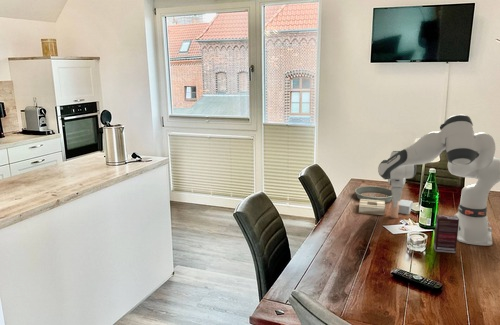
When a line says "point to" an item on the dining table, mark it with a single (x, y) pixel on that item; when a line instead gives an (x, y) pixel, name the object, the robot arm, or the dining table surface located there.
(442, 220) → the supplement box
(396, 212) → the peg
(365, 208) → the socket board
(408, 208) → the grey rectangular block
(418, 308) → the dining table surface
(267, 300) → the dining table surface
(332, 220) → the dining table surface
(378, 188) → the cake pan
